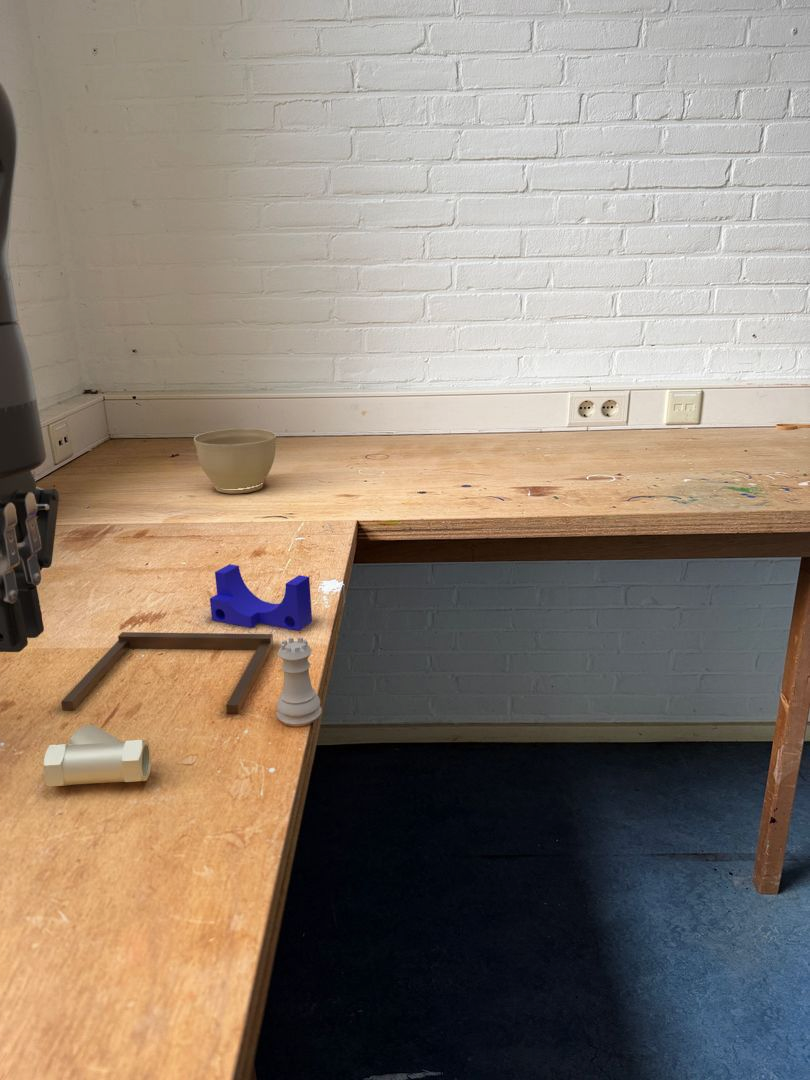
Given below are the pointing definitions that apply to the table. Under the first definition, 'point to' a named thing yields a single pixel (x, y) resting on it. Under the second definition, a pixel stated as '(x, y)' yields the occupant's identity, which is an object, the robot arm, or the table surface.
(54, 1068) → the table surface
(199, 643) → the frame
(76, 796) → the table surface
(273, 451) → the planter bowl
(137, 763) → the pipe fitting
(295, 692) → the rook chess piece
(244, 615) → the blue saddle bracket
